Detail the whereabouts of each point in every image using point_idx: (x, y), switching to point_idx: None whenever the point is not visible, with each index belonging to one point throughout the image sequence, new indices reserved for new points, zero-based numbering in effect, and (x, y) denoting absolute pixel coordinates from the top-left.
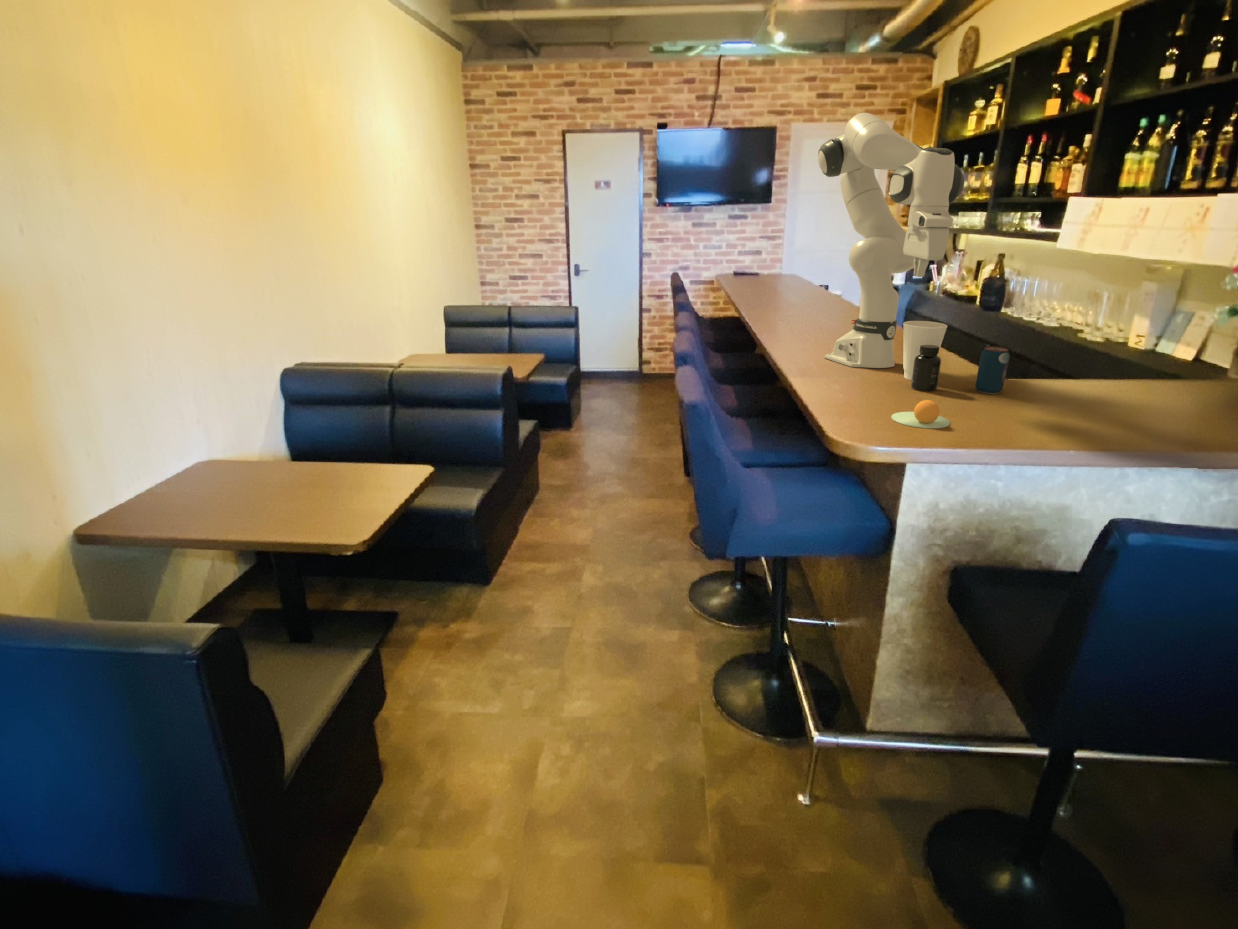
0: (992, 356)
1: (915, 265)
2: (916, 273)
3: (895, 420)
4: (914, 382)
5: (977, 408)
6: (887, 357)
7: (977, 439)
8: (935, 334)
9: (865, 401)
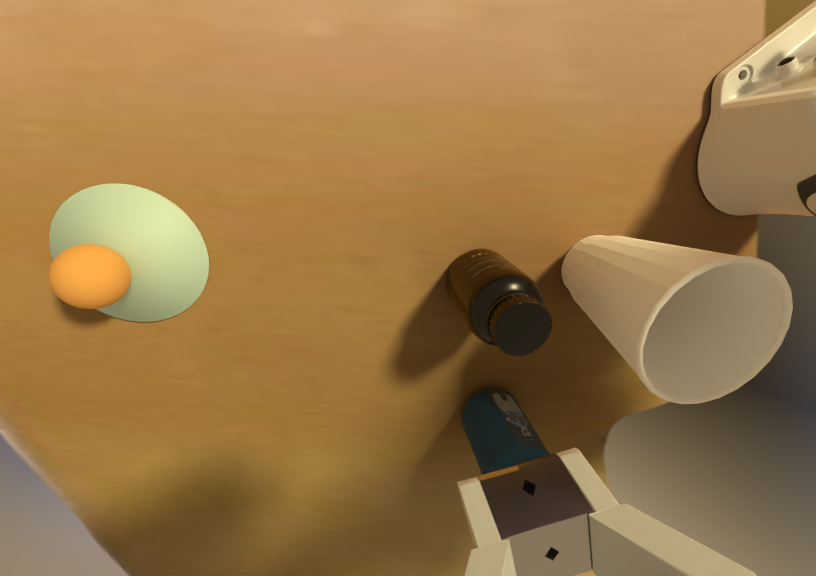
0: (490, 469)
1: (631, 548)
2: (499, 489)
3: (77, 193)
4: (465, 259)
5: (319, 381)
6: (736, 193)
7: (32, 367)
8: (627, 357)
9: (271, 111)
